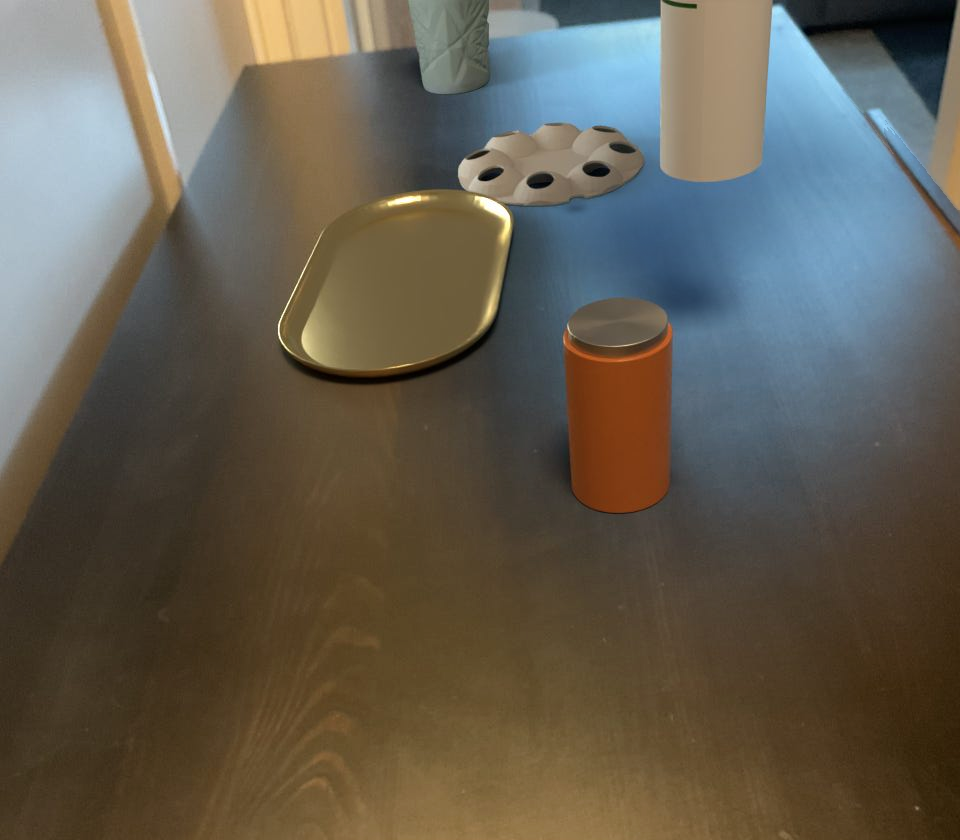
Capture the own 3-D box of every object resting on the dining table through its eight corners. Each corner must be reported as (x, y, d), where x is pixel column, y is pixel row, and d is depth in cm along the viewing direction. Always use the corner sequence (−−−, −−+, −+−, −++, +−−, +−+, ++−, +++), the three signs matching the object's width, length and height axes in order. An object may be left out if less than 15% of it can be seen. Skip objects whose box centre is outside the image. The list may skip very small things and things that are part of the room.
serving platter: (258, 391, 87) (253, 374, 86) (342, 210, 112) (339, 195, 111) (488, 383, 84) (486, 365, 83) (522, 199, 109) (521, 183, 108)
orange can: (659, 450, 75) (661, 288, 67) (679, 506, 71) (683, 340, 62) (565, 462, 76) (556, 302, 67) (578, 519, 71) (570, 355, 63)
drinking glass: (402, 87, 138) (387, -19, 130) (461, 64, 143) (449, -40, 134) (455, 101, 132) (442, -10, 124) (514, 76, 137) (505, -32, 129)
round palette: (649, 128, 119) (649, 109, 118) (636, 202, 106) (636, 182, 104) (476, 136, 123) (474, 118, 122) (442, 208, 109) (439, 189, 108)
